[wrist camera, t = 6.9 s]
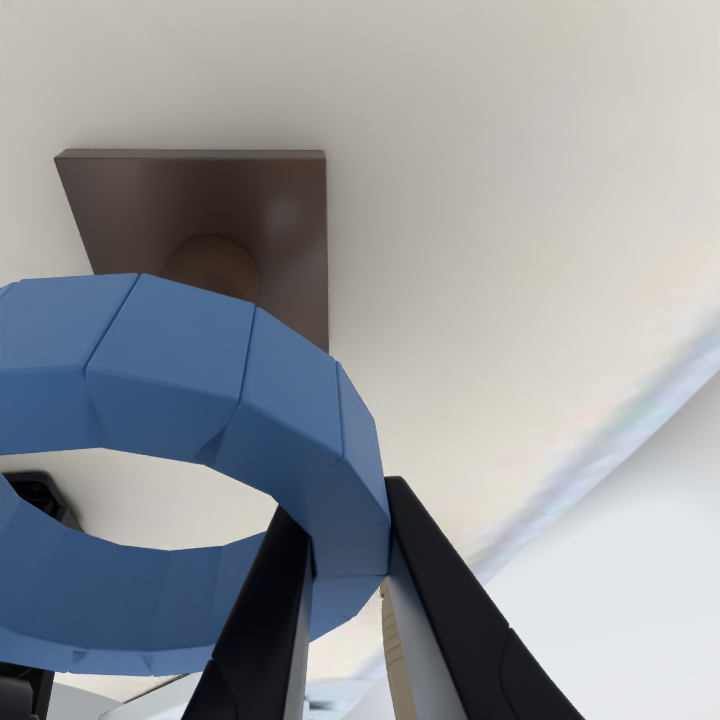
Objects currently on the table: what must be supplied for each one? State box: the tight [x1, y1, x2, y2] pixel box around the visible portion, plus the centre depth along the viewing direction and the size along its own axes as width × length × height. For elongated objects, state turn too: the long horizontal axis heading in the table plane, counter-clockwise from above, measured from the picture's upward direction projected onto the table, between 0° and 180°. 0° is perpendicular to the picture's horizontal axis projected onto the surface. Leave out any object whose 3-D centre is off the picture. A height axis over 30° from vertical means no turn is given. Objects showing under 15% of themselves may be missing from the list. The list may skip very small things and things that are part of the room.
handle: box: [380, 577, 419, 720], centre depth 27 cm, size 5×6×15 cm
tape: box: [0, 273, 391, 677], centre depth 9 cm, size 9×9×2 cm
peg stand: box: [54, 149, 329, 354], centre depth 15 cm, size 8×8×7 cm
